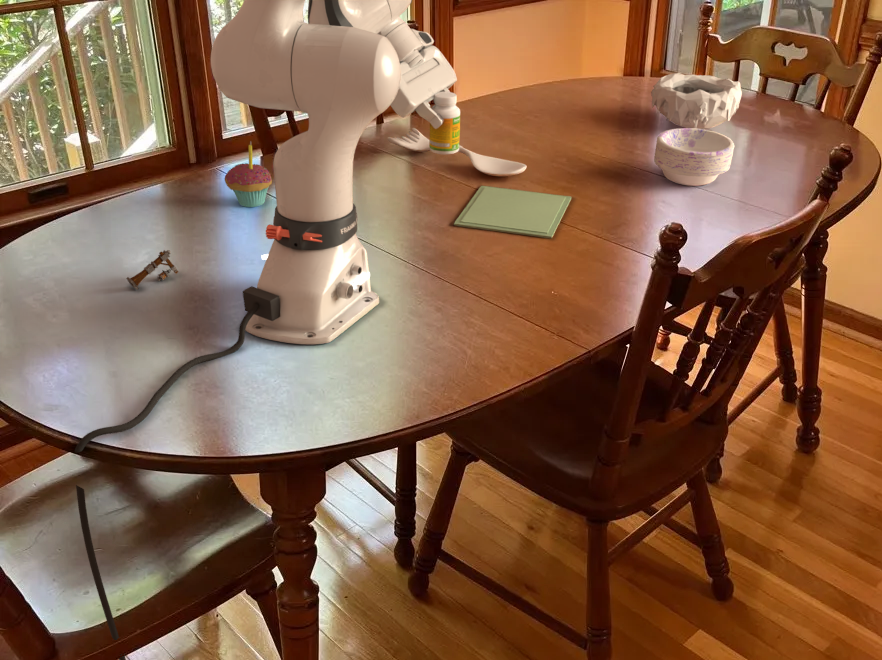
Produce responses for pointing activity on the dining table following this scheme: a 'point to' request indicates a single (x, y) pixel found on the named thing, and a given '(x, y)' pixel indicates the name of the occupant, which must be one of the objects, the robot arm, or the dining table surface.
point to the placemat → (514, 211)
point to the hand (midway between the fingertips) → (448, 120)
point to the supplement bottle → (445, 125)
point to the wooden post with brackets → (151, 267)
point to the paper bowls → (693, 155)
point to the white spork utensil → (479, 161)
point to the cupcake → (249, 182)
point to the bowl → (696, 99)
